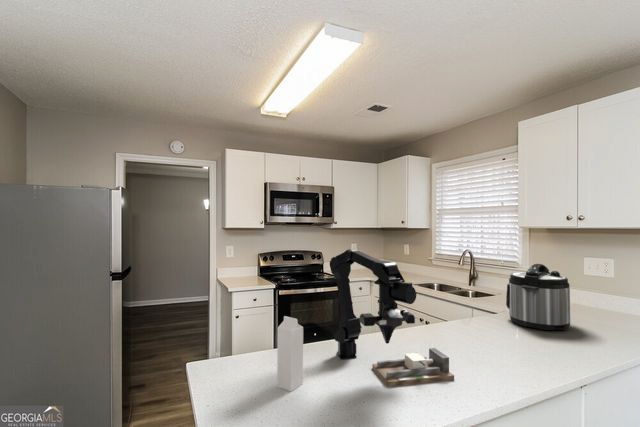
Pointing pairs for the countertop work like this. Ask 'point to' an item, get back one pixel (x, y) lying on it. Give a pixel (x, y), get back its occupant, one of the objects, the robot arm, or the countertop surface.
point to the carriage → (416, 361)
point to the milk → (290, 354)
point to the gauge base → (414, 370)
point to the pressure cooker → (539, 299)
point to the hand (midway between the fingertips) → (387, 343)
